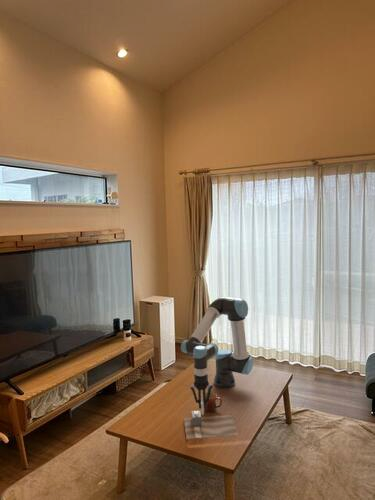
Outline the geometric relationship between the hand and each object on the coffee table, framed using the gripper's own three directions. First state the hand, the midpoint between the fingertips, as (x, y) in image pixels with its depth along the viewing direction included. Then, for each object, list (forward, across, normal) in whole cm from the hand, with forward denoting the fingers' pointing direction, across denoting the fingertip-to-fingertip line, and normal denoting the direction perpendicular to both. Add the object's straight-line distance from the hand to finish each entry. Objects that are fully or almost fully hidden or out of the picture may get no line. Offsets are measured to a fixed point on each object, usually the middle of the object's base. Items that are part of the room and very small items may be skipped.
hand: (202, 413), depth 211 cm
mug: (+7, +7, +12) cm, 15 cm away
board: (+6, +3, -4) cm, 8 cm away
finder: (+5, -4, 0) cm, 6 cm away
